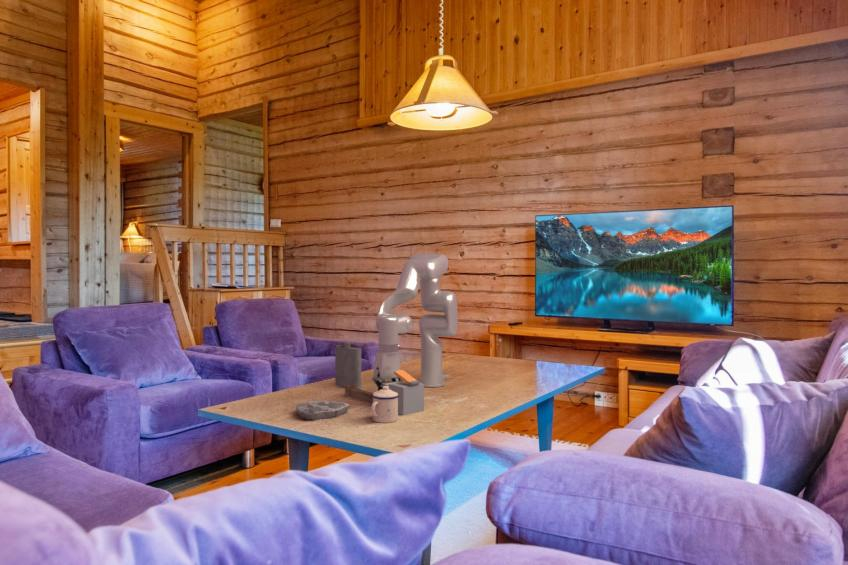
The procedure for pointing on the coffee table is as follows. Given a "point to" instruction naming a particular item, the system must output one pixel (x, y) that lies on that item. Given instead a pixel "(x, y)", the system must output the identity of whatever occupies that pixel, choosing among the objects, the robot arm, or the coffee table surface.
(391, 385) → the cabinet
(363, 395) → the rail
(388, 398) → the teacup with lid
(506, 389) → the coffee table surface
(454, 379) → the coffee table surface
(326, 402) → the brain slice
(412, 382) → the lever
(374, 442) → the coffee table surface
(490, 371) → the coffee table surface
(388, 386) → the block
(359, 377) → the hip flask
